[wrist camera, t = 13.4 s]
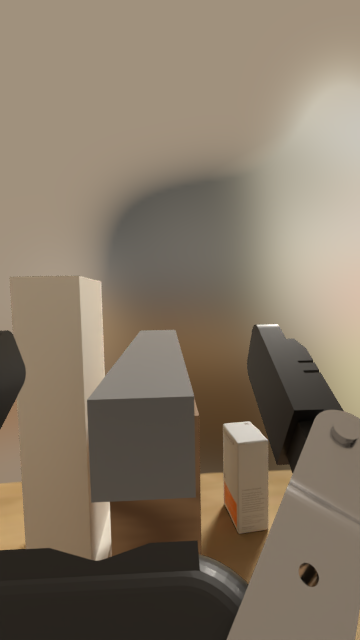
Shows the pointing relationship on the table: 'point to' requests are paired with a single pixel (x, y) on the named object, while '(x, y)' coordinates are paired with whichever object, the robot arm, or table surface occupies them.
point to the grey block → (143, 424)
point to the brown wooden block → (158, 516)
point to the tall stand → (59, 411)
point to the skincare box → (245, 476)
